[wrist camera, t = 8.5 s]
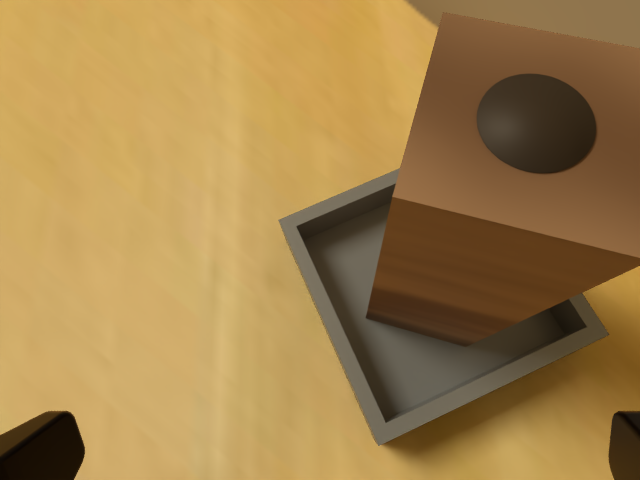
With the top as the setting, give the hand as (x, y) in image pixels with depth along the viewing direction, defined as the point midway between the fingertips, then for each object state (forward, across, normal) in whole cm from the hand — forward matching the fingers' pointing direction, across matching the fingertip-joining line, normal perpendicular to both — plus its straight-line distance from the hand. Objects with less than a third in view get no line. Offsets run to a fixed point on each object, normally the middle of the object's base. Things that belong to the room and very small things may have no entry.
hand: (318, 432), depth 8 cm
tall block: (+14, -2, +4) cm, 14 cm away
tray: (+14, -2, +4) cm, 15 cm away
